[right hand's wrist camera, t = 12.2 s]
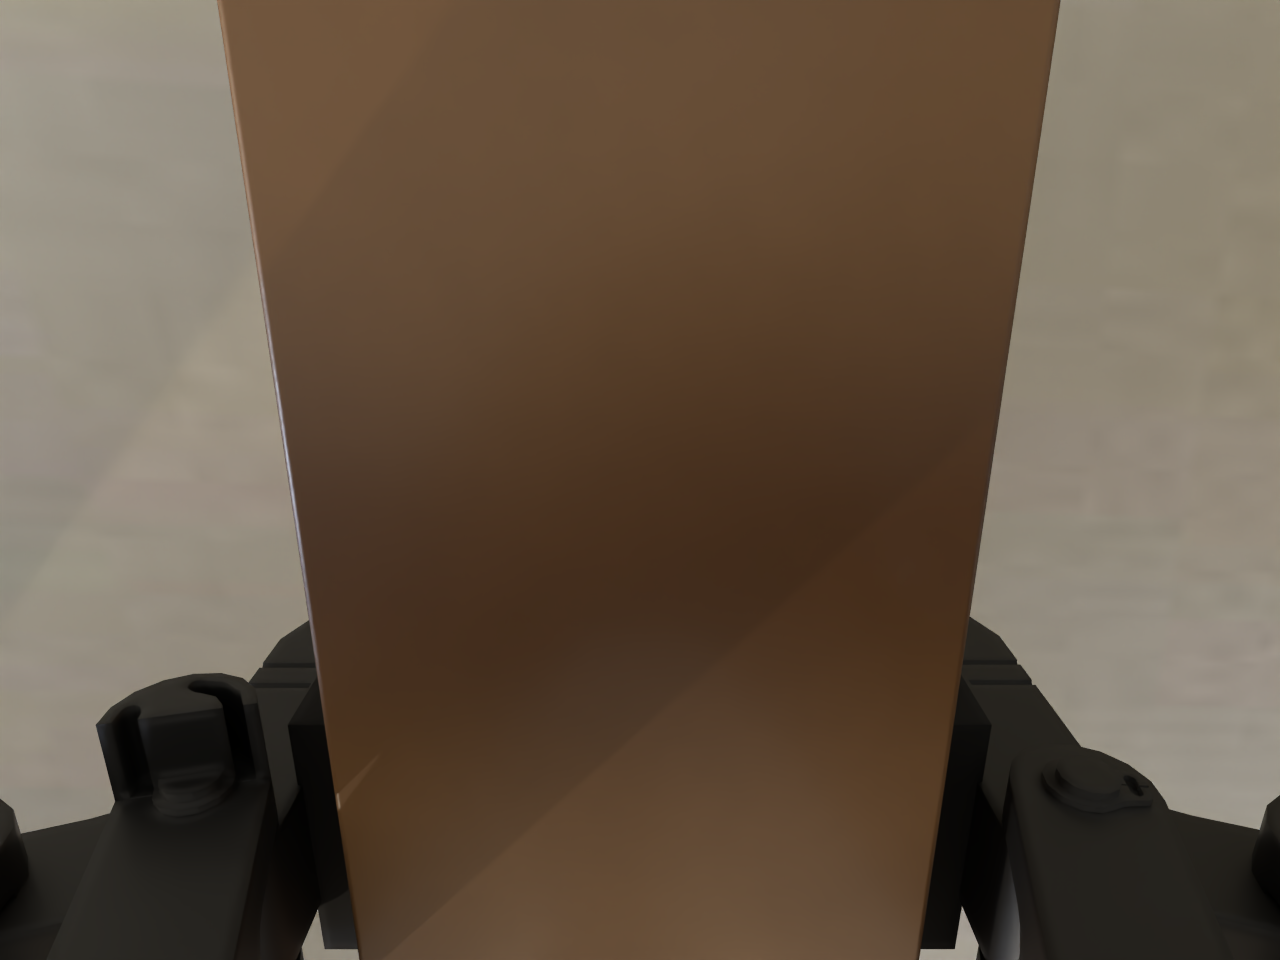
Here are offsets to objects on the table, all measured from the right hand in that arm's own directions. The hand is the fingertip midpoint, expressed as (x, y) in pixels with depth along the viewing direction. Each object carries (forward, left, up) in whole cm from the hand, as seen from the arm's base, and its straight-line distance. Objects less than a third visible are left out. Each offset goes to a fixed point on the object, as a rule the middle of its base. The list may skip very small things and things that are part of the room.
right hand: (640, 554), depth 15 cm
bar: (+2, -9, -1) cm, 9 cm away
